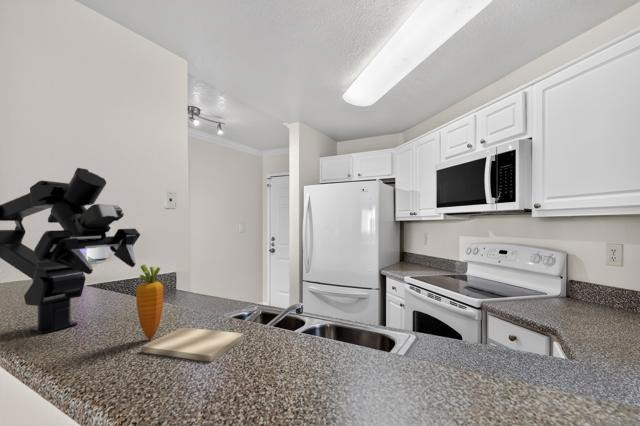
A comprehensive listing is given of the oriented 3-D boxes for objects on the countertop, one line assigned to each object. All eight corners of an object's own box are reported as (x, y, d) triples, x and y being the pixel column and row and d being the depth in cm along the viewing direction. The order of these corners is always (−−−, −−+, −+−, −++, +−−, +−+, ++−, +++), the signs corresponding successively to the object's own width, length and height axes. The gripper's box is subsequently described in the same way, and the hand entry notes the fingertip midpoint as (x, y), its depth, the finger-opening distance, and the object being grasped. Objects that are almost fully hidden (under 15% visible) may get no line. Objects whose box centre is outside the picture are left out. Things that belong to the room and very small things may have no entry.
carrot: (169, 337, 60) (168, 263, 60) (143, 346, 55) (143, 266, 56) (155, 333, 62) (155, 262, 63) (130, 341, 58) (130, 265, 59)
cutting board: (141, 352, 53) (141, 346, 53) (183, 332, 62) (183, 327, 62) (210, 361, 48) (210, 355, 48) (244, 338, 58) (244, 333, 58)
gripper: (42, 188, 56) (84, 243, 52) (132, 196, 73) (169, 238, 69) (17, 232, 58) (55, 288, 54) (111, 230, 75) (145, 272, 71)
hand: (114, 268), depth 62 cm, fingers open, 9 cm apart
